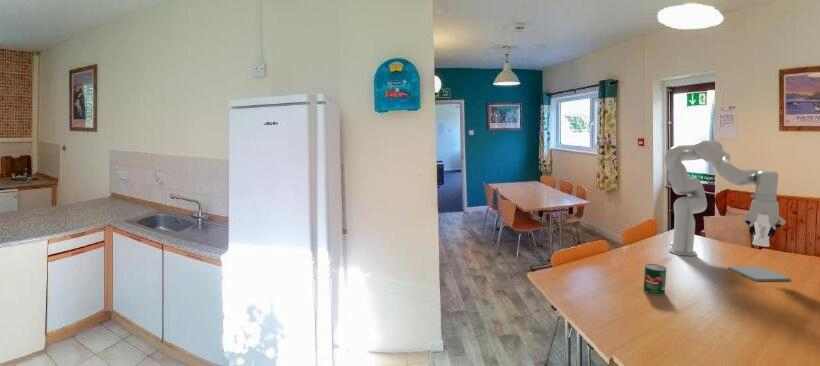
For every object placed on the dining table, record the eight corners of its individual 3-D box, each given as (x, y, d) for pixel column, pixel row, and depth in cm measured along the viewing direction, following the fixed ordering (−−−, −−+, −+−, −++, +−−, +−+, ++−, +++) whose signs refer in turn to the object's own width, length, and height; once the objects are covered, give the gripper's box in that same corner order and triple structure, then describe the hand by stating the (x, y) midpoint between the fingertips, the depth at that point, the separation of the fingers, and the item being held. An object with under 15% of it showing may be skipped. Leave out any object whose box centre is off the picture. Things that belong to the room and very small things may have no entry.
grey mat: (727, 269, 199) (727, 267, 198) (759, 268, 199) (760, 266, 199) (755, 281, 183) (755, 279, 183) (790, 280, 183) (790, 278, 183)
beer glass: (763, 242, 192) (766, 211, 190) (774, 247, 185) (778, 214, 183) (747, 242, 192) (750, 211, 191) (758, 246, 186) (761, 214, 184)
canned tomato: (645, 294, 170) (646, 268, 169) (641, 287, 178) (643, 263, 176) (666, 296, 168) (668, 270, 166) (662, 289, 175) (664, 265, 174)
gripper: (740, 197, 189) (736, 234, 192) (790, 201, 177) (786, 240, 180) (742, 195, 195) (739, 231, 197) (791, 198, 183) (787, 237, 185)
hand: (761, 235), depth 188 cm, fingers closed on beer glass, 6 cm apart
